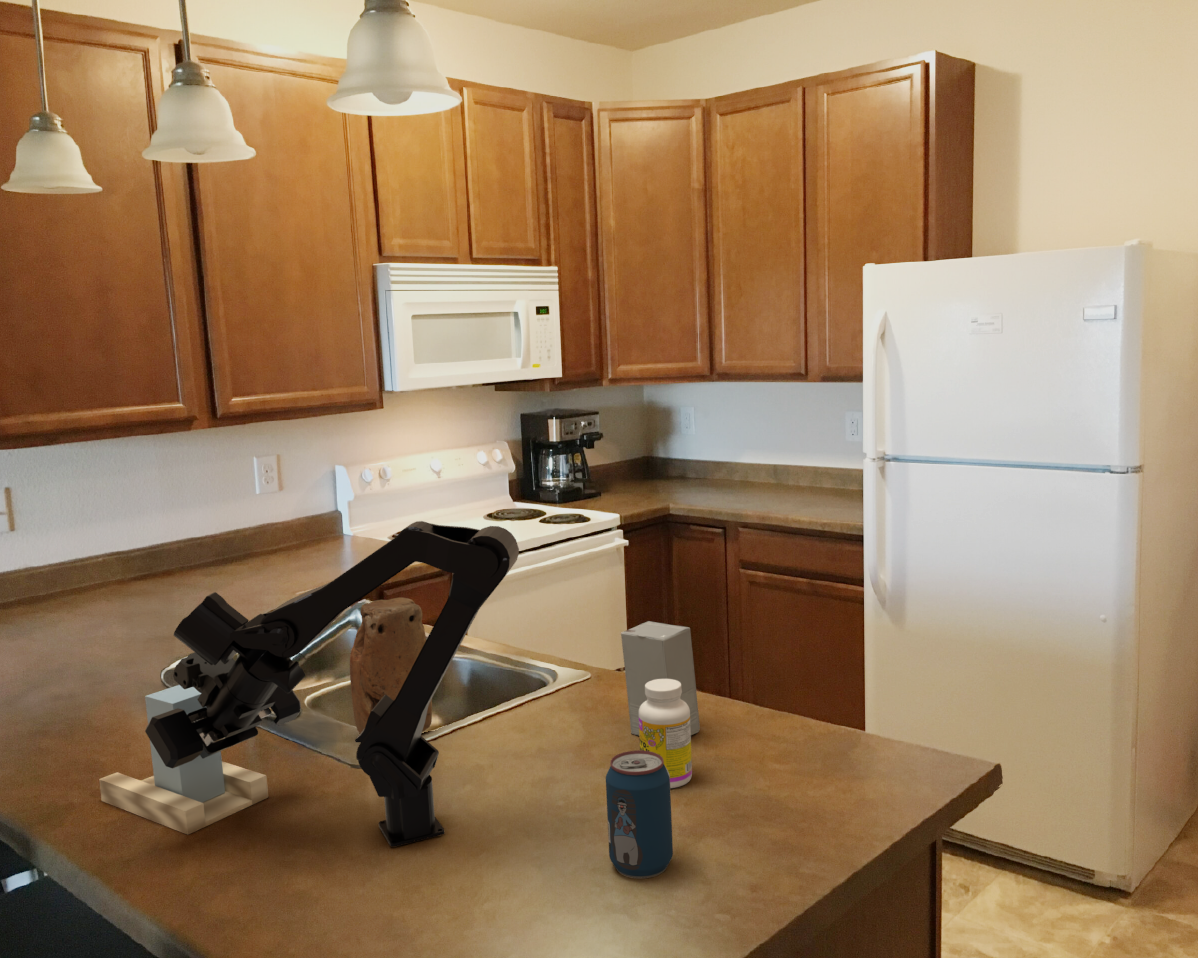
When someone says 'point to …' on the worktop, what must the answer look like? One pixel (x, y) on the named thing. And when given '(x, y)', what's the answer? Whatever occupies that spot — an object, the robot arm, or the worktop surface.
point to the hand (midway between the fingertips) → (203, 754)
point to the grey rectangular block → (197, 775)
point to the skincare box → (658, 665)
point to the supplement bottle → (667, 728)
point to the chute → (184, 799)
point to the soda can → (639, 814)
